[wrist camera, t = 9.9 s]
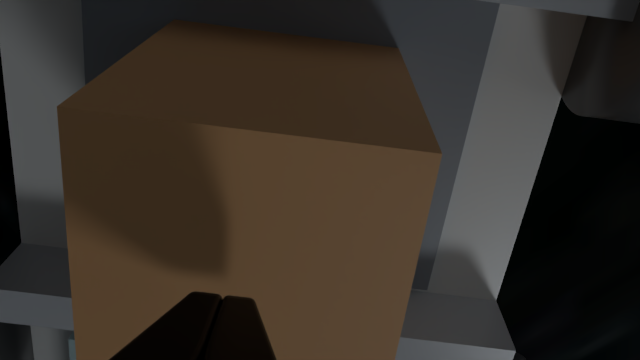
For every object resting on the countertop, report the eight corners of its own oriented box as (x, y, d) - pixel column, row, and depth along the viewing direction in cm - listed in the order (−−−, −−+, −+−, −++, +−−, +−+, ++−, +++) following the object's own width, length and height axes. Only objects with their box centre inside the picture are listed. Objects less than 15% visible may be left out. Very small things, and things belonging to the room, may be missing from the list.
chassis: (662, -114, 13) (804, -119, 9) (477, 429, 20) (510, 556, 16) (-57, -218, 13) (-238, -272, 9) (18, 376, 20) (-60, 495, 16)
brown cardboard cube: (398, 48, 13) (441, 153, 8) (364, 239, 15) (379, 427, 10) (174, 19, 13) (56, 106, 8) (171, 216, 15) (78, 394, 10)
